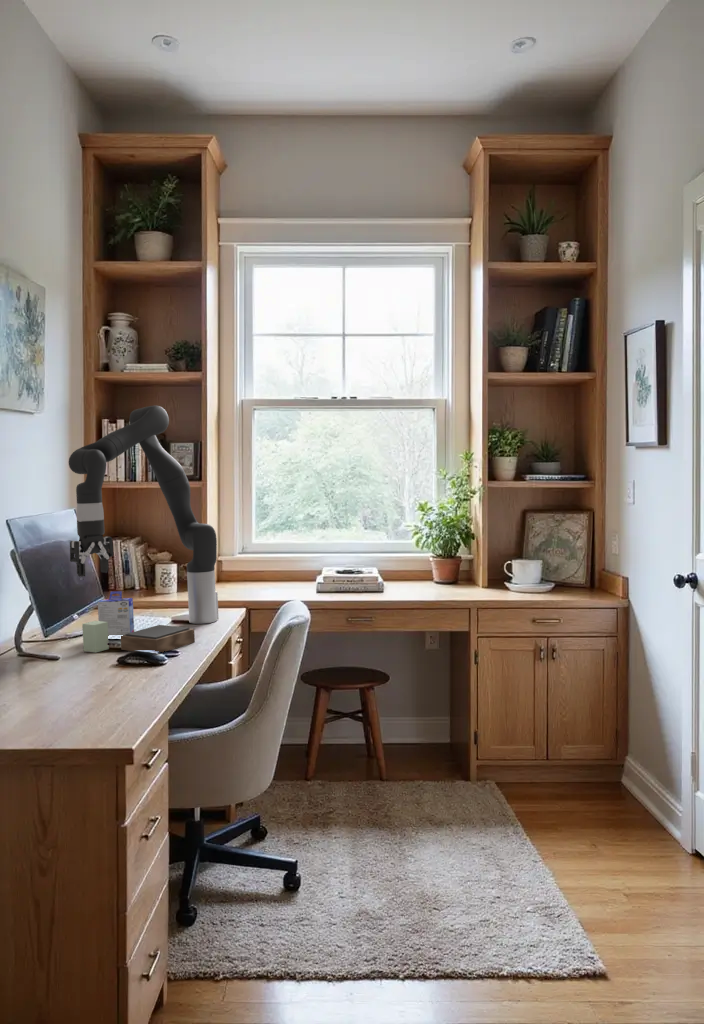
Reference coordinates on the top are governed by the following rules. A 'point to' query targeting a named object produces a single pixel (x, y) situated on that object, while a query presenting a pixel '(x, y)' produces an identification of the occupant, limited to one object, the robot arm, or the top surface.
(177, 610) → the top surface
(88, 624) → the sage block
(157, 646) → the walnut base
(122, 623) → the ink cartridge box
